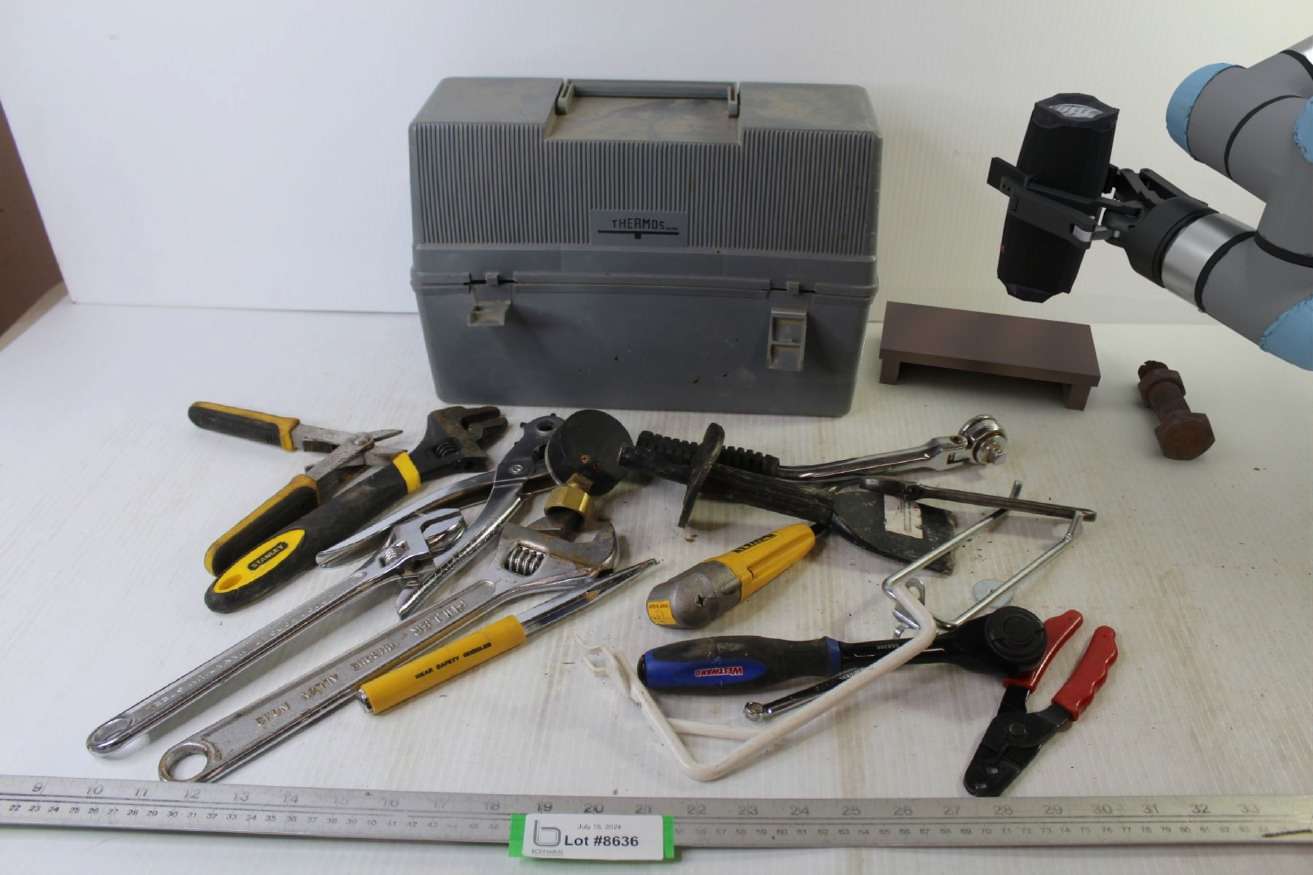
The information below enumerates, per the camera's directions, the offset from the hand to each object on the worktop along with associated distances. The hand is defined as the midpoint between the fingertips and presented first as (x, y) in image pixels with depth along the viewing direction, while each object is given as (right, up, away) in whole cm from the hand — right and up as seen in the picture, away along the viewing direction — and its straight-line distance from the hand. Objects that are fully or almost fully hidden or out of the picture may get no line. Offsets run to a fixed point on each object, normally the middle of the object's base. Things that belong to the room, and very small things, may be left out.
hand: (1031, 164), depth 101 cm
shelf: (0, -21, +16) cm, 26 cm away
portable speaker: (+1, -12, +4) cm, 13 cm away
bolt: (+18, -27, +8) cm, 33 cm away
